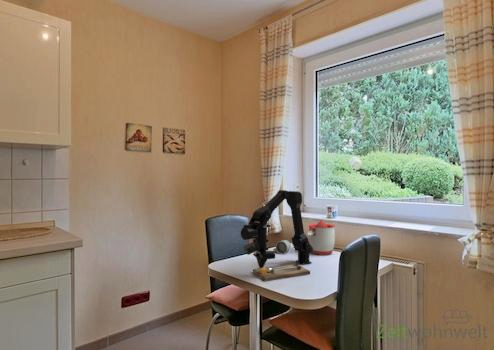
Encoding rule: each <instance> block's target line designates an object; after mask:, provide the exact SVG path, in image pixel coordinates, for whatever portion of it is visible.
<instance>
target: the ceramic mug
mask: <svg viewBox="0 0 494 350" xmlns="http://www.w3.org/2000/svg"><path fill="white" fill-rule="evenodd" d="M291 247H292V243H290V241H289V240H287V239H284V240H280V241H277V243H276V245H275V248H273V249H272V252H277V253H278V254H281V255H284V254H286V253H287V252H289V251H290V250H291Z"/></svg>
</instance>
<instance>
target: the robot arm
mask: <svg viewBox="0 0 494 350" xmlns="http://www.w3.org/2000/svg"><path fill="white" fill-rule="evenodd" d="M284 200H286V204H287V205H288V206H289V208H290V211H291V218H292V225H293V231H294V232H293V233H294V234H293V236H292V237H291V242H292V243H291V246H293V248H294V251H295V252H296V251H297V260H295V262H296V263H298V264H300V265H307V264H312V262H313V261H310V254H311V253H313V252H312V250H313V248H312V246H311V245H310V241H309V238H308V237H309V236H307V235H306V233H305V232H304V231H305V230H304V224H303V216H302V212H301V211H302V210H301V206H302V203H303V194H302V192H300V191H298V190H297V191H295V190H294V191H293V190H285V189H284V190H283V189H280V190H278V191H277V193H276V194H275V195H274V196H273V197H272V198H271V199H269V200H268V202H267V203H266V204H265V205H263V206H262V207H259V208H258V209H256V210H255V211H253V213H252V216H251V217H250V220H249V222H248V224H243V227H242V228H241V230H240V237H241V238H242V239H243V240H245V241H247V240H252V242H250V243H248V244H246V245H243V250H244V254H247V256H248V255H249V256H250V255H251V254H252V255H253V257H255V258H256V260H257V261H256V262H257V265H258V268H259V269H260V268H265V267H264V266H265V265H266V263H267V260H272V259H273V260H274V259H276V254H275V251H273V250H269V247H268V242H269V239H268V232H267V231H268V229H267V228H270V227H271V225H270V224H269V223H268V222H269V220H270V219H271V218H272V214H273V212H274V211H275V210H276V209H277V208H278V207H279V206H280V205H281V204H282V203H283V201H284Z"/></svg>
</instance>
